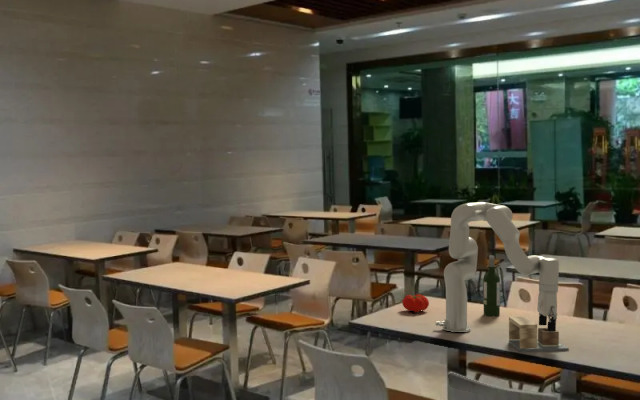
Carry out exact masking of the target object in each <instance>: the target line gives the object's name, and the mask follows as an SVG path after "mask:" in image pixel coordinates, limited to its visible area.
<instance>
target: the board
mask: <svg viewBox="0 0 640 400" xmlns="http://www.w3.org/2000/svg"><path fill="white" fill-rule="evenodd" d="M508 343H509V344H510V345H511V346H512V347H514V348H515V349H516V350H518V351H519V352H520V353H522V352H523V353H524V352H561V351H562V352H565V351H566V352H567V351H570V348H569V347H567V346H566V345H565V344H563V343H562V342H560V341H559V345H542V344H541V343H540V342H538V338H537V348H521V349H520V340H509V339H508Z"/></svg>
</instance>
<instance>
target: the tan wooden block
mask: <svg viewBox="0 0 640 400" xmlns="http://www.w3.org/2000/svg"><path fill="white" fill-rule="evenodd" d="M537 339H538V324H537V323H536V322H534V321H533V320H531V319H529V318H528V317H526V316H508V341H509V340H520V349H521V348H537Z"/></svg>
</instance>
